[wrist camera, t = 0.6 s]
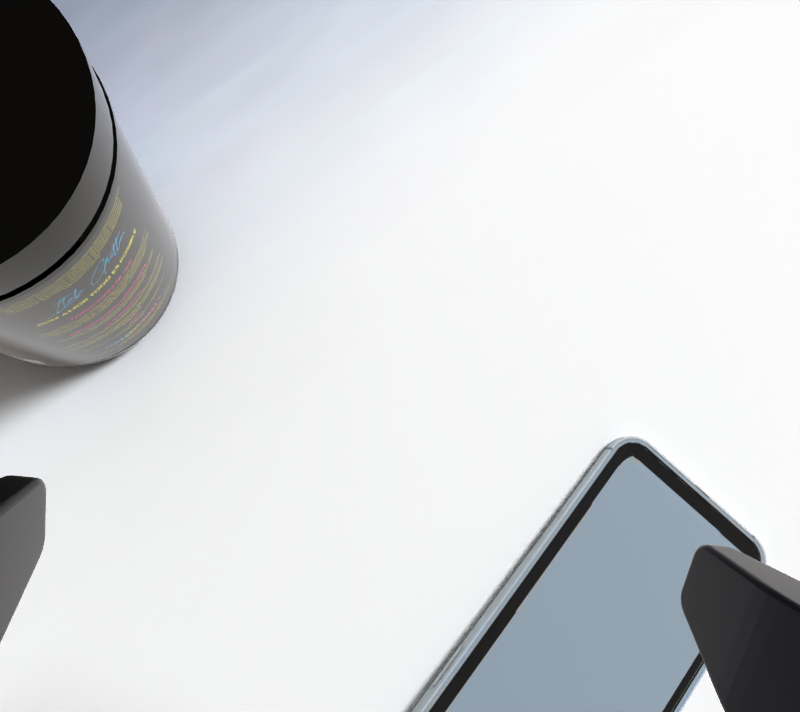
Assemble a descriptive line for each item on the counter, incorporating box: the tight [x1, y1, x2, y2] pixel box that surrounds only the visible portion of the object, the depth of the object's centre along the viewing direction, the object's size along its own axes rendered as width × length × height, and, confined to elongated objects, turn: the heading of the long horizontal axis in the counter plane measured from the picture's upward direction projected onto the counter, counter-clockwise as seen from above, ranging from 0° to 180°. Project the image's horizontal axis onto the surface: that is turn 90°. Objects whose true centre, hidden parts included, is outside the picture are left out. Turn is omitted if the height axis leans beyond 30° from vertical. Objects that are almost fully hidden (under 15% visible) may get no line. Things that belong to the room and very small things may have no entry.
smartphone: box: [411, 436, 766, 712], centre depth 23 cm, size 7×1×15 cm
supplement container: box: [0, 0, 179, 367], centre depth 17 cm, size 7×7×10 cm
